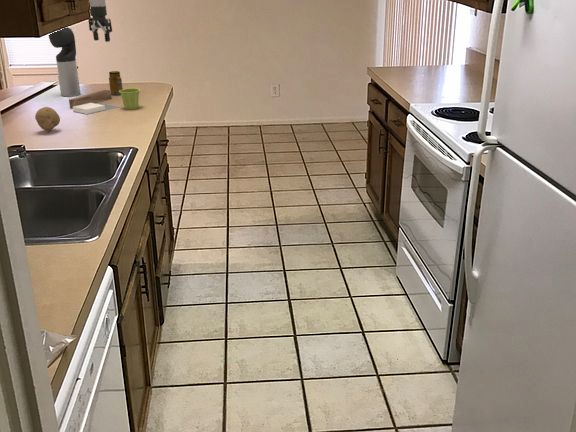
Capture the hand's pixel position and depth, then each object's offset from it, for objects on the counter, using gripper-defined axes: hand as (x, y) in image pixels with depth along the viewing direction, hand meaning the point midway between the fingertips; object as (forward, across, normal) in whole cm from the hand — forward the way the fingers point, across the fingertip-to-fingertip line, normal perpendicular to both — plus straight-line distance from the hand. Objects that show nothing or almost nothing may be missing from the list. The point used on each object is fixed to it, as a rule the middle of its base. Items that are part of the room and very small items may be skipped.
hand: (102, 40), depth 293 cm
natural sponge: (+28, +29, -52) cm, 66 cm away
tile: (+26, +14, -17) cm, 35 cm away
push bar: (+28, +2, -12) cm, 31 cm away
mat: (+28, +13, -17) cm, 35 cm away
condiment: (+28, -4, +8) cm, 30 cm away
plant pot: (+28, +26, -7) cm, 39 cm away
